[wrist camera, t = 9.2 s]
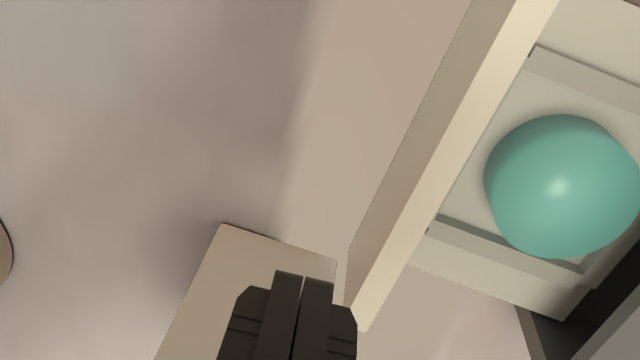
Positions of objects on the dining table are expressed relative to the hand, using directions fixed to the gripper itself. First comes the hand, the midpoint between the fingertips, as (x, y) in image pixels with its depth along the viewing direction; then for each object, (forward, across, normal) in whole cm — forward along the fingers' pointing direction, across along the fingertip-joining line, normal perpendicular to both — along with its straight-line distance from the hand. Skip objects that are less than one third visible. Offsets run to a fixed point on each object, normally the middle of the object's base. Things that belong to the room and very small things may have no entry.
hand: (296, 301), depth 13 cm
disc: (+12, -10, 0) cm, 16 cm away
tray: (+13, -10, 0) cm, 16 cm away
